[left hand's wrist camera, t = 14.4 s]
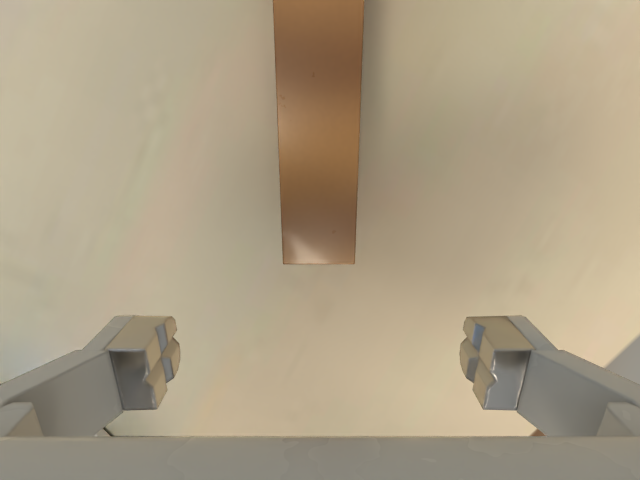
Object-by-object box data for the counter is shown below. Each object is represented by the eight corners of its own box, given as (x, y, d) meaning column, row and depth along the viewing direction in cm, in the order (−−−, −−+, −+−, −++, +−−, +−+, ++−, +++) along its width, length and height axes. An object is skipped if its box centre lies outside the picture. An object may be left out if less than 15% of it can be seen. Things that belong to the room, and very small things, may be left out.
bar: (346, 225, 32) (354, 264, 24) (291, 225, 32) (282, 264, 24) (355, -136, 24) (373, -254, 16) (281, -136, 24) (263, -254, 16)
